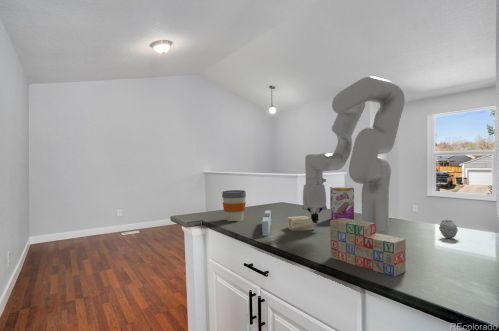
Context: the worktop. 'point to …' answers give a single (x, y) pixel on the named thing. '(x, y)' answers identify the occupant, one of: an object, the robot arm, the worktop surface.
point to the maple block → (299, 223)
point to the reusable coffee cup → (234, 204)
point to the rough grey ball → (448, 228)
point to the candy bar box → (341, 202)
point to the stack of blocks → (367, 246)
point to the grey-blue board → (266, 223)
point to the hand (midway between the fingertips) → (314, 222)
